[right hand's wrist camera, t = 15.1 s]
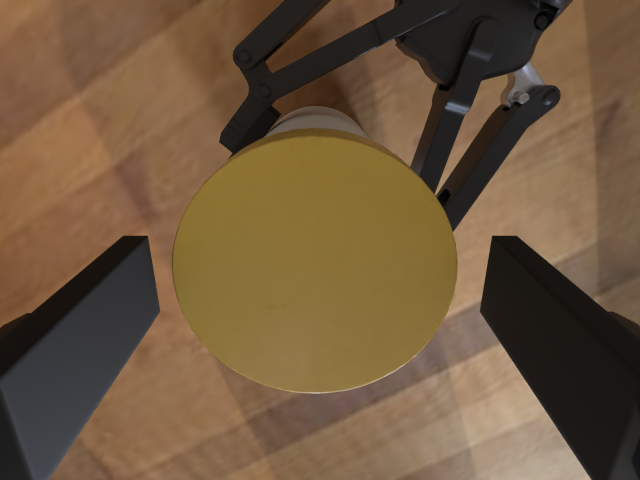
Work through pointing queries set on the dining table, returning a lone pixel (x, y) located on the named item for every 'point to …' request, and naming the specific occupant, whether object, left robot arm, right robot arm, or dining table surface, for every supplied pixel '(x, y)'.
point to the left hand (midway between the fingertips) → (268, 243)
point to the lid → (314, 262)
